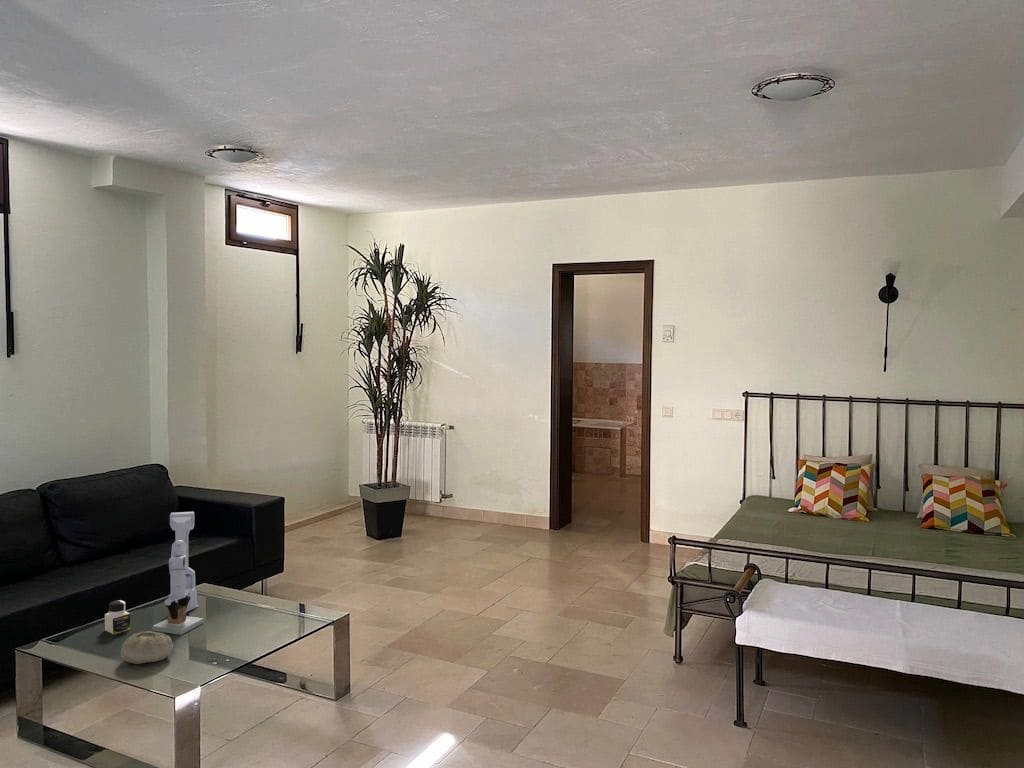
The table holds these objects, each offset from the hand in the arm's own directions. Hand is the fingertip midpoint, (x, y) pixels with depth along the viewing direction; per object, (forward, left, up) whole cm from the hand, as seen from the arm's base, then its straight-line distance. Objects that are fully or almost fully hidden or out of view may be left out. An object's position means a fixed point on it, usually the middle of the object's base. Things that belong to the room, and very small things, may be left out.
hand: (178, 616), depth 331 cm
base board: (0, 0, -4) cm, 4 cm away
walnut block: (0, -1, -2) cm, 2 cm away
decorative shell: (+32, +12, -5) cm, 34 cm away
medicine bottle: (+11, -21, -5) cm, 24 cm away
